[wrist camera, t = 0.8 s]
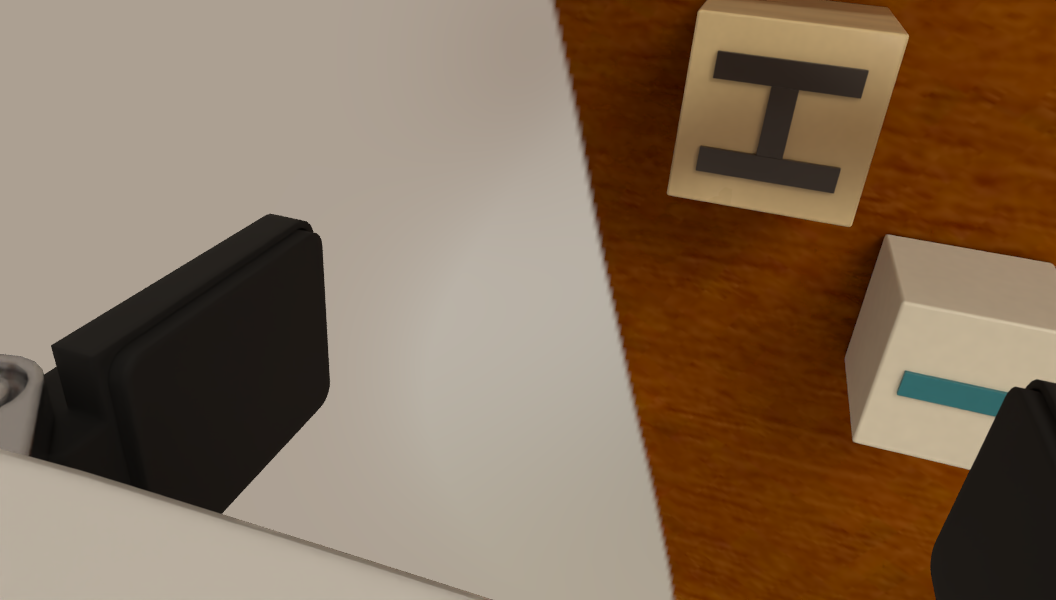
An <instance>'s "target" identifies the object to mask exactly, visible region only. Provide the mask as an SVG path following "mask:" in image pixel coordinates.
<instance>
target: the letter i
mask: <svg viewBox="0 0 1056 600" xmlns="http://www.w3.org/2000/svg"><path fill="white" fill-rule="evenodd" d="M845 367H846V377H847V387H848V398H849V408H850V418H851V429H852V439H853V441H854V442H855V443H859V444H863V445H868V446H872V447H876V448H880V449H884V450H889V451H893V452H897V453H901V454H906V455H910V456H914V457H918V458H922V459H927V460H931V461H935V462H939V463H944V464H948V465H952V466H956V467H960V468H965V469H969V470H970V469H971V467H972V465H973V463H974V461H975V459H976V457H977V455H978V453H979V450H980V448H981V446H982V444H983V442H984V440H985V438H986V436H987V434H988V432H989V430H990V427H991V425H992V423H993V421H994V419H995V417H996V415H997V413H998V411H999V409H1000V407H1001V405H1002V402H1003V400H1004V398H1005V396H1006V395H1007V393H1008V392H1009V391H1010V389H1011V388H1013V387H1020V388H1026V386H1027V385H1028V384H1029V383H1030V382H1031V381H1033V380H1036V379H1039V380H1043V381H1048V382H1053V383H1056V268H1055V267H1054V265H1053V264H1051V263H1047V262H1042V261H1036V260H1030V259H1025V258H1019V257H1013V256H1008V255H1002V254H996V253H991V252H985V251H979V250H974V249H968V248H962V247H957V246H951V245H945V244H939V243H934V242H928V241H922V240H917V239H911V238H905V237H900V236H894V235H886V236H885V237H884V240H883V243H882V246H881V249H880V252H879V255H878V258H877V261H876V264H875V267H874V270H873V274H872V277H871V280H870V283H869V286H868V289H867V292H866V295H865V298H864V301H863V304H862V307H861V310H860V313H859V316H858V319H857V322H856V325H855V328H854V331H853V334H852V337H851V340H850V343H849V346H848V349H847V353H846V356H845Z"/></svg>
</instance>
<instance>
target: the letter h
mask: <svg viewBox="0 0 1056 600" xmlns="http://www.w3.org/2000/svg"><path fill="white" fill-rule="evenodd" d="M908 39H909V35H908V34H907V32H906V31H905V30H904V28H903V27H902V26H901V24H900V23H899V22H898V20H897V19H896V18H895V16H894V15H893V14H892V12H891V11H890V10H889V8H887V7H879V6H871V5H862V4H853V3H844V2H835V1H826V0H707V1H706V2H705V3H704V4H703V6H702V7H701V8H700V9H699V11H698V13H697V19H696V25H695V31H694V36H693V42H692V48H691V54H690V60H689V66H688V71H687V77H686V83H685V89H684V95H683V101H682V107H681V112H680V118H679V124H678V130H677V136H676V142H675V148H674V153H673V159H672V165H671V171H670V177H669V183H668V189H667V195H670V196H676V197H681V198H687V199H693V200H698V201H704V202H710V203H715V204H721V205H727V206H732V207H738V208H744V209H749V210H755V211H761V212H766V213H772V214H778V215H783V216H789V217H795V218H800V219H806V220H812V221H817V222H823V223H829V224H834V225H840V226H846V227H851V225H852V223H853V220H854V217H855V213H856V210H857V207H858V203H859V200H860V197H861V194H862V190H863V187H864V184H865V180H866V177H867V174H868V170H869V167H870V164H871V161H872V157H873V154H874V151H875V147H876V144H877V141H878V138H879V134H880V131H881V128H882V124H883V121H884V118H885V114H886V111H887V108H888V105H889V101H890V98H891V95H892V91H893V88H894V85H895V82H896V78H897V75H898V72H899V68H900V65H901V62H902V59H903V55H904V52H905V49H906V45H907V42H908Z"/></svg>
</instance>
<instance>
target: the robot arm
mask: <svg viewBox="0 0 1056 600" xmlns="http://www.w3.org/2000/svg"><path fill="white" fill-rule="evenodd" d="M51 347H52V351H53V355H54V358H55V362H56V366H57V367H55V368H54V369H52V370H51V371H49V372H48V373H46V374H43V370H42V369H41V367H40V366H39V365H38V364H37V363H36V362H34V361H32V360H29V359H27V358H24V357H21V356H13V355H4V354H0V600H492V599H489V598H485V597H482V596H479V595H476V594H473V593H470V592H467V591H463V590H460V589H457V588H454V587H450V586H448V585H445V584H442V583H438V582H435V581H432V580H429V579H426V578H423V577H420V576H417V575H413V574H410V573H407V572H404V571H401V570H398V569H394V568H391V567H388V566H385V565H382V564H379V563H376V562H372V561H369V560H366V559H363V558H360V557H357V556H354V555H351V554H347V553H344V552H341V551H337V550H334V549H332V548H328V547H325V546H322V545H319V544H315V543H312V542H309V541H305V540H303V539H299V538H296V537H293V536H290V535H287V534H283V533H280V532H277V531H274V530H270V529H268V528H264V527H261V526H258V525H255V524H252V523H249V522H245V521H242V520H239V519H236V518H233V517H229V516H226V515H223V514H222V513H223V512H224V511H225V510H226V508H227V507H228V506H229V505H230V504H231V503H232V502H233V501H234V500H235V499H236V498H237V497H238V495H239V494H240V493H241V492H242V491H243V490H244V489H245V488H246V487H247V486H248V485H249V484H250V483H251V481H252V480H253V479H254V478H255V477H256V476H257V475H258V474H259V473H260V472H261V471H262V470H263V469H264V468H265V466H266V465H267V464H268V463H269V462H270V461H271V460H272V459H273V458H274V457H275V456H276V455H277V453H278V452H279V451H280V450H281V449H282V448H283V447H284V446H285V445H286V444H287V443H288V442H289V441H290V439H291V438H292V437H293V436H294V435H295V434H296V433H297V432H298V431H299V430H300V429H301V428H302V427H303V426H304V424H305V423H306V422H307V421H308V420H309V419H310V418H311V417H312V416H313V415H314V414H315V413H316V412H317V410H318V409H319V408H320V407H321V406H322V405H323V403H324V401H325V399H326V397H327V395H328V392H329V387H330V376H329V358H328V340H327V322H326V304H325V287H324V268H323V250H322V241H321V238H320V236H319V235H318V234H317V233H313V230H312V227H311V225H310V224H308V222H307V221H302V220H298V219H293V218H288V217H283V216H279V215H274V214H269V215H266V216H264V217H262V218H260V219H259V220H257V221H255V222H254V223H252V224H251V225H249V226H247V227H246V228H244V229H242V230H241V231H239V232H237V233H236V234H234V235H232V236H231V237H229V238H227V239H226V240H224V241H222V242H221V243H219V244H218V245H216V246H214V247H213V248H211V249H209V250H208V251H206V252H204V253H203V254H201V255H199V256H198V257H196V258H195V259H193V260H191V261H189V262H188V263H186V264H185V265H183V266H181V267H180V268H178V269H176V270H175V271H173V272H172V273H170V274H168V275H166V276H165V277H163V278H162V279H160V280H158V281H157V282H155V283H153V284H152V285H150V286H149V287H147V288H145V289H143V290H142V291H140V292H138V293H137V294H135V295H133V296H132V297H130V298H129V299H127V300H125V301H124V302H122V303H120V304H119V305H117V306H115V307H114V308H112V309H110V310H109V311H107V312H105V313H104V314H102V315H100V316H99V317H97V318H96V319H94V320H92V321H91V322H89V323H87V324H86V325H84V326H83V327H81V328H79V329H77V330H76V331H74V332H72V333H71V334H69V335H68V336H66V337H64V338H63V339H61V340H59V341H58V342H56V343H55V344H53V345H51ZM931 576H932V581H933V587H934V592H935V597H936V600H1056V383H1053V382H1048V381H1043V380H1039V379H1036V380H1033V381H1031V382H1030V383H1029V384H1028V385H1027V386H1026V388H1020V387H1013V388H1011V389H1010V391H1009V392H1008V393H1007V395H1006V396H1005V398H1004V400H1003V402H1002V405H1001V407H1000V409H999V411H998V413H997V415H996V417H995V419H994V421H993V423H992V425H991V427H990V430H989V432H988V434H987V436H986V438H985V440H984V442H983V444H982V446H981V448H980V450H979V453H978V455H977V457H976V459H975V461H974V463H973V465H972V467H971V469H970V471H969V473H968V475H967V478H966V480H965V482H964V484H963V486H962V488H961V490H960V492H959V494H958V496H957V498H956V501H955V503H954V505H953V507H952V509H951V511H950V513H949V515H948V517H947V519H946V521H945V523H944V526H943V528H942V530H941V532H940V534H939V536H938V538H937V540H936V542H935V545H934V548H933V551H932V556H931Z"/></svg>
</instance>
